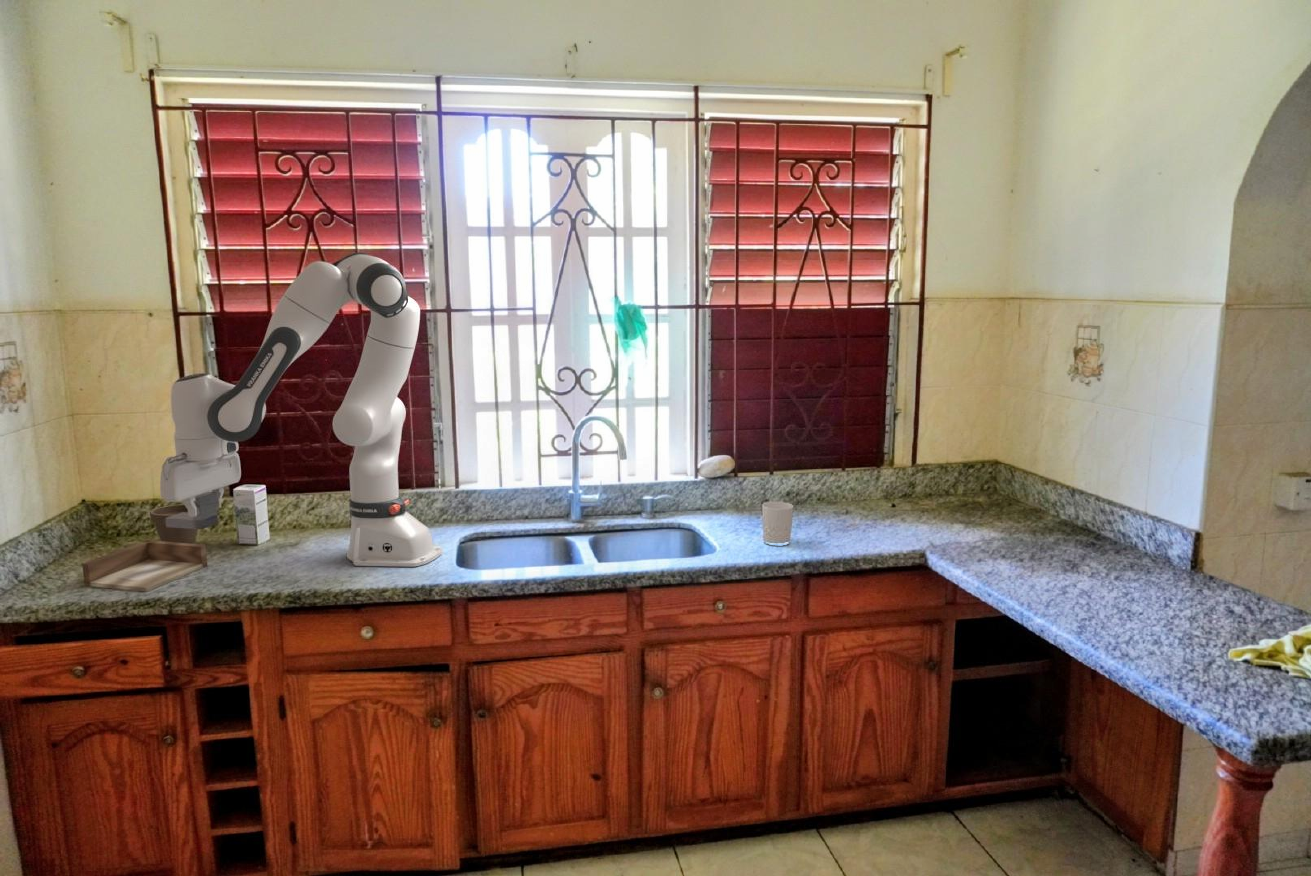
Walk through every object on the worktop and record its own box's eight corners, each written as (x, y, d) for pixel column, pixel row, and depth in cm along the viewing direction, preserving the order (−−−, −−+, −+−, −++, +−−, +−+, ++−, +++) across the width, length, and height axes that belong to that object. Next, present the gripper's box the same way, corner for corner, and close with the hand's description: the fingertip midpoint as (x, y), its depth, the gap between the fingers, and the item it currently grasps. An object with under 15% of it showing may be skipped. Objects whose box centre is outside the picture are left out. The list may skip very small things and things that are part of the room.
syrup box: (270, 538, 224) (266, 484, 221) (258, 545, 218) (253, 489, 215) (249, 538, 224) (245, 483, 222) (236, 544, 218) (232, 488, 216)
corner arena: (207, 565, 202) (205, 544, 201) (147, 591, 185) (145, 569, 184) (149, 560, 206) (147, 540, 205) (84, 585, 188) (82, 563, 188)
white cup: (796, 541, 224) (798, 504, 223) (784, 549, 218) (785, 510, 216) (769, 536, 229) (770, 500, 227) (755, 544, 222) (757, 506, 220)
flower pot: (209, 539, 222) (206, 501, 221) (202, 552, 212) (198, 512, 210) (159, 543, 219) (155, 505, 217) (148, 557, 208) (144, 516, 206)
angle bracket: (218, 523, 191) (215, 492, 190) (202, 529, 186) (198, 497, 185) (183, 520, 193) (180, 490, 192) (166, 527, 188) (162, 495, 187)
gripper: (175, 459, 175) (182, 525, 177) (243, 441, 195) (248, 501, 197) (148, 458, 176) (155, 524, 179) (219, 440, 196) (224, 500, 198)
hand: (205, 512), depth 188 cm, fingers closed on angle bracket, 5 cm apart
